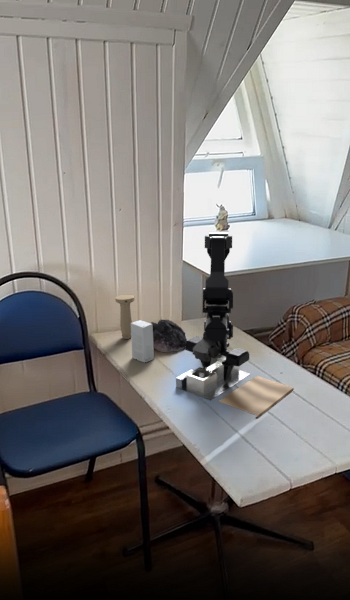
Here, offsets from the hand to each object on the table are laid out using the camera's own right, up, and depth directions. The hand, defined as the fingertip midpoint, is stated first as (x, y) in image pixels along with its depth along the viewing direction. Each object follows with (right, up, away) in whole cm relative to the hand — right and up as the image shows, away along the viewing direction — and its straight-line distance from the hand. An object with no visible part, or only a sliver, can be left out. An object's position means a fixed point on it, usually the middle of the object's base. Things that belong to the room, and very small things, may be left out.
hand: (216, 377), depth 159 cm
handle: (-29, +9, +33) cm, 45 cm away
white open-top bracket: (-1, -1, -1) cm, 1 cm away
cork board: (+10, -4, -8) cm, 14 cm away
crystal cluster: (-14, +7, +27) cm, 31 cm away
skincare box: (-22, +3, +17) cm, 28 cm away
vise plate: (-1, -2, 0) cm, 2 cm away
